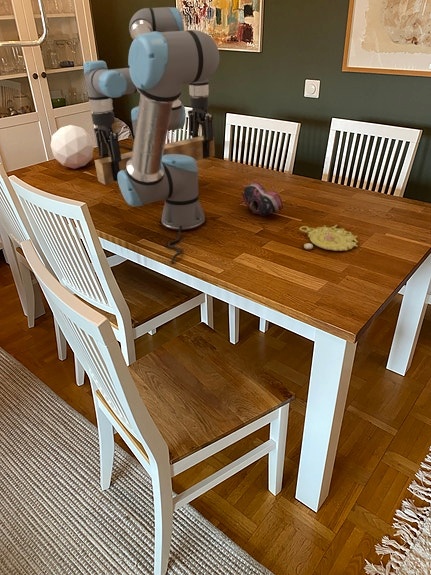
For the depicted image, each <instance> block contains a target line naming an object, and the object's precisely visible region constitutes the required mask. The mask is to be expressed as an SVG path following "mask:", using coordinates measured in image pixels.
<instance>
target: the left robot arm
mask: <svg viewBox="0 0 431 575" xmlns="http://www.w3.org/2000/svg"><path fill="white" fill-rule="evenodd" d="M184 23H185V22H184V18H183V15H182V13H181V10H180V9H179V8H177V7H171V6H170V7H169V6H165V7H150V8H149V7H144V8H141V9H139V10H137V11H136V12H135V13H134V14H133V16H132V17H131V19H130V21H129V24H128V25H129V26H128V32H129V35H130V37H131V39H132V40H134V39H135V38H136V37H137V36H139V35H141V34H145V33H150V32H154V31H156V32H172V31H185V24H184ZM209 82H210V81H209V78H208V79H206V80H203V81H200V82H195V83H188V92H189V96H190V97H189V106H190V108H192V109H190V110H187V114H186V108H185V105H184V104H183V103H182V101H181V100H180V98H178V99H177V100H176V101H174V102H173V105H172V111H171V116H170V121H169V126H168V131H177V130H182V129H183V128H184V126H185V124H186V116H187V117H188V135H189V136H190V137H191V138H194V137H199V136H200V135H199V132H200V129H201V133H202V136H203V138H204V141H203V158H205V159H208V158H207V157H209V158H211V157H210V156H209V149H210V141H212V140H213V137H214V128H213V118H214V115H213V114H210V113H209V112H208V108H209V107H210V97H209V94H210V90H209V86H210V85H209V84H210V83H209ZM138 110H139V105H138V106H135V107H133V108H132V109H131V112H130V114H131V117H130V119H131V123H132V132H133V145H132V147H131V146H126V145H122V144H119V147H122V148H124V149H128V150H131V152H133V150H134V142H135V134H136V126H137V118H138ZM168 131H167V132H168ZM206 138H207V139H206Z"/></svg>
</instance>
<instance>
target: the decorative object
mask: <svg viewBox="0 0 431 575" xmlns="http://www.w3.org/2000/svg"><path fill="white" fill-rule="evenodd" d="M303 228H304V229H305V230H304V229H303ZM299 231H300V232H303V233H305V234H307V237H308V238H309V240H310V241H311V243H304V244H303V248H304V249H305V250H313V249H314V245H315V246H316V247H318V248H321V249H324V250H328V251H335V252H341V251H348V250H352V249H354V247H356V248H358V247H359V245H358V244H357V243H359V240H357V238H359V237H358V235H353V234H352V231H347V230H346V229H345V228H344V227H342V228H338V224H335V225H333V226H331V227H328V226H327V225H326V224H325V225H323V226H322V227H321V226H317V227H316V228H314V227H309V226H308V225H302V226H300V227H299ZM313 244H314V245H313Z"/></svg>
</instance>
